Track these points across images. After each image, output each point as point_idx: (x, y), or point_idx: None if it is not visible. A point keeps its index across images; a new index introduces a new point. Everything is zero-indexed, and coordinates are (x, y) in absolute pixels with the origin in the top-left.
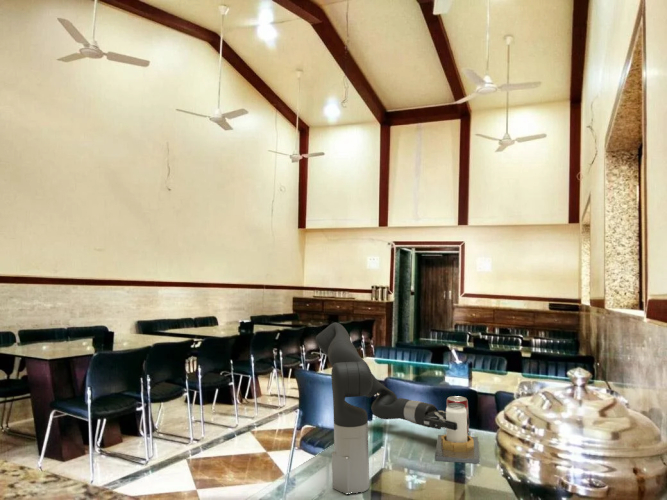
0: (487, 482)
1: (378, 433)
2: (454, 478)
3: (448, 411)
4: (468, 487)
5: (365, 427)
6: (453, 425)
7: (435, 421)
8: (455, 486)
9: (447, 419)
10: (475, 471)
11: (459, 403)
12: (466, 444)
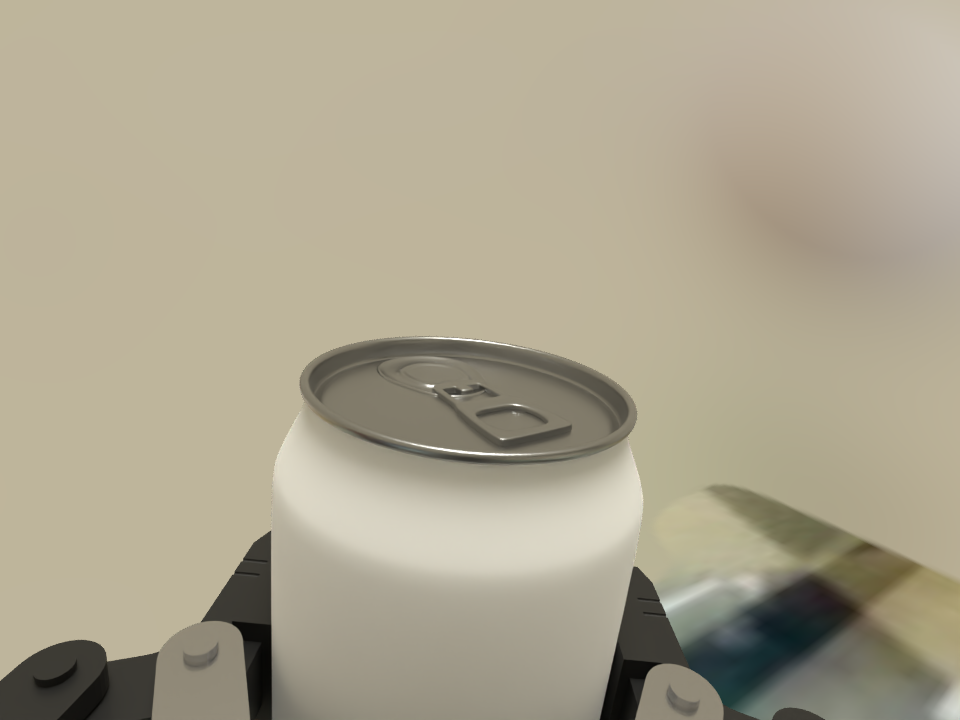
0: (695, 519)
1: None
2: (843, 625)
3: (642, 497)
4: (814, 550)
5: None
6: (634, 575)
7: None
8: (881, 587)
9: (614, 650)
10: (661, 585)
11: (310, 373)
12: None
